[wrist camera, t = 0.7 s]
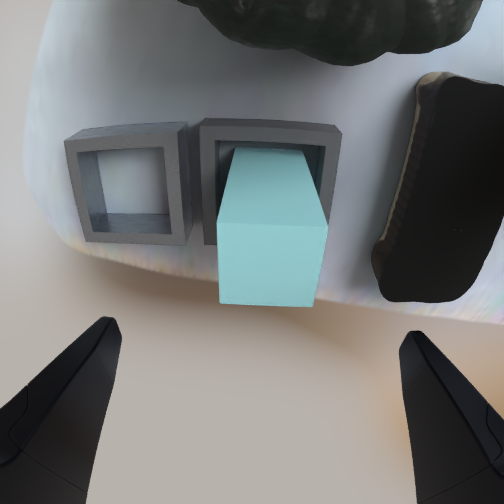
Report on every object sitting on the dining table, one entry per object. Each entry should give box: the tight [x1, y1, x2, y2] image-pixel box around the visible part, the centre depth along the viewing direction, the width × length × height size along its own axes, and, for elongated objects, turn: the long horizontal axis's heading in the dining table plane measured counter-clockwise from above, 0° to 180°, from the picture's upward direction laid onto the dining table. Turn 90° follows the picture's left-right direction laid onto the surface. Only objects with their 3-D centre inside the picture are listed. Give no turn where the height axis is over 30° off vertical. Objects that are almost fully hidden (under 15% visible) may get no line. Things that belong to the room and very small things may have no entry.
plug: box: [217, 147, 328, 307], centre depth 16 cm, size 4×4×9 cm
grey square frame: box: [199, 118, 342, 245], centre depth 19 cm, size 8×8×2 cm
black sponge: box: [371, 72, 504, 303], centre depth 18 cm, size 16×8×4 cm, turn 175°
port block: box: [64, 122, 193, 246], centre depth 19 cm, size 7×7×2 cm
